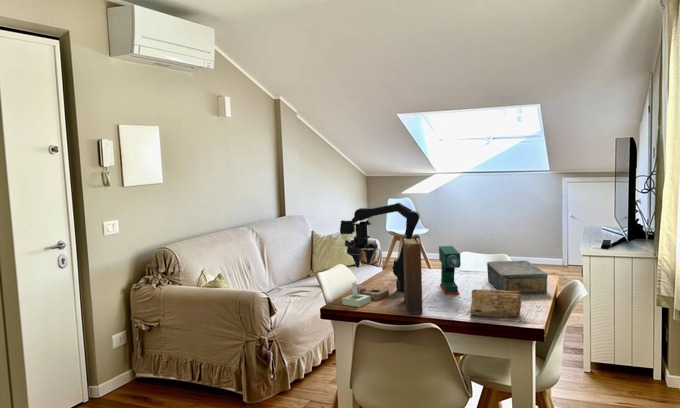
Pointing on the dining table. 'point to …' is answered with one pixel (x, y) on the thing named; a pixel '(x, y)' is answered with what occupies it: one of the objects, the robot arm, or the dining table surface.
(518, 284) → the metal box
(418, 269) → the decorative book
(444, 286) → the power tool
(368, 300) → the block
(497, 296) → the petrified wood
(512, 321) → the dining table surface
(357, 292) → the steel pin
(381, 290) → the block
